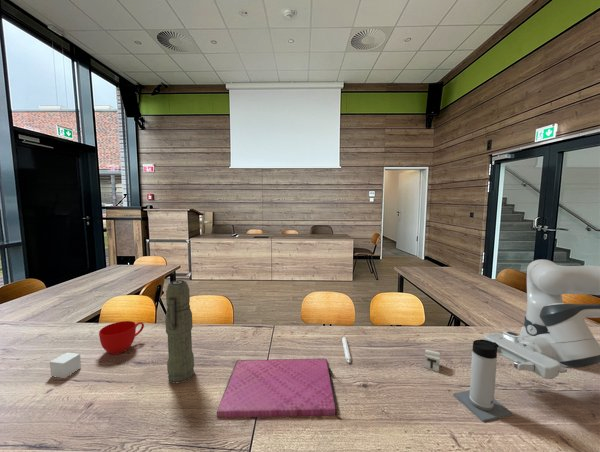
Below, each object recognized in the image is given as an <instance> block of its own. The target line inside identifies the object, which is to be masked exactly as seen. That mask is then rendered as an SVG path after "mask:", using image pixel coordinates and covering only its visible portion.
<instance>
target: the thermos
mask: <svg viewBox="0 0 600 452" xmlns="http://www.w3.org/2000/svg"><path fill="white" fill-rule="evenodd" d="M166 287H167V288H166V289H165V290H166V291H165V296H166V306H167V307H166V313H165V318H164V319H165V321H164V322H165V333H166V335H167V348H168V349H167V350H168V351H167V353H168V354H167V355H168V359H167V362H166V366H167V375H168V377H167V379H169V380H168V382H170V381H171V382H170V383H172V382H175V383H174V384H177V383H176V382H181V383H183V382H182V381H184V382H186V381H188V380H189V378H190V379H191V378H192V377H193V376H194V373H195V371H194V367H195V355H194V353H193V342H192V341H193V339H192V329H193V327H194V326H193V312H192V309H191V305H190V299H191V298H190V287H189V285H188V282H187V281H186V280H183V279H182V280H180V279H178V280H173V281H170V282H169V283H168V284H167V286H166ZM185 380H186V381H185Z"/></svg>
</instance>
